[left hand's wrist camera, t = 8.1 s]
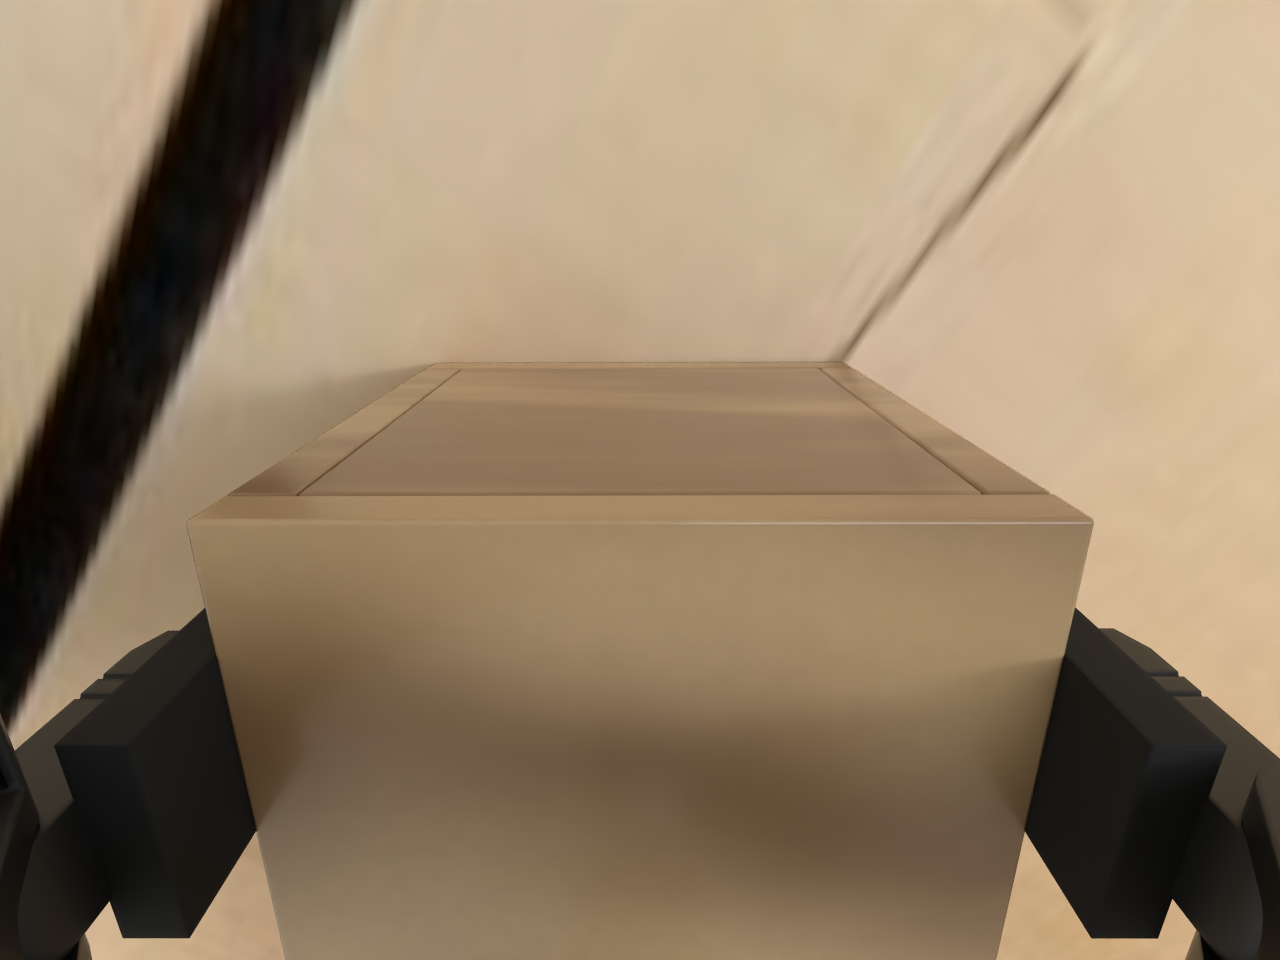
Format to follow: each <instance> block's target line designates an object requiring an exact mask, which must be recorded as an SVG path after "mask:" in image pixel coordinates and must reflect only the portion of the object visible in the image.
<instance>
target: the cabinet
mask: <svg viewBox="0 0 1280 960" xmlns="http://www.w3.org/2000/svg"><path fill="white" fill-rule="evenodd" d="M1093 524H1094V523H1093V519H1092V518H1091V517H1089V516H1088V515H1086V514H1084V513H1083V512H1081V511H1080V510H1078V509H1076V508H1075V507H1073V506H1072V505H1070V504H1069V503H1067V502H1065V501H1064V500H1062V499H1061V498H1059V497H1057V496H1055V495H1051V494H1050V492H1048V491H1047V490H1045V489H1044V488H1042V487H1040V486H1039V485H1037V484H1036V483H1034V482H1033V481H1031V480H1029V479H1028V478H1026V477H1025V476H1023V475H1021V474H1020V473H1018V472H1017V471H1015V470H1014V469H1012V468H1010V467H1009V466H1007V465H1006V464H1004V463H1002V462H1001V461H999V460H998V459H996V458H995V457H993V456H991V455H990V454H988V453H987V452H985V451H984V450H982V449H980V448H979V447H977V446H976V445H974V444H972V443H971V442H969V441H968V440H966V439H965V438H963V437H961V436H960V435H958V434H957V433H955V432H953V431H952V430H950V429H949V428H947V427H946V426H944V425H942V424H941V423H939V422H938V421H936V420H934V419H933V418H931V417H930V416H928V415H927V414H925V413H923V412H922V411H920V410H919V409H917V408H915V407H914V406H912V405H911V404H909V403H908V402H906V401H904V400H903V399H901V398H900V397H898V396H896V395H895V394H893V393H892V392H890V391H889V390H887V389H885V388H884V387H882V386H881V385H879V384H877V383H876V382H874V381H873V380H871V379H870V378H868V377H866V376H865V375H863V374H862V373H860V372H859V371H857V370H855V369H853V368H852V367H850V366H849V365H847V364H845V363H843V362H671V363H436V364H434V365H432V366H431V367H429V368H428V369H425V370H423V371H422V372H420V373H418V374H417V375H415V376H414V377H412V378H411V379H409V380H407V381H406V382H404V383H403V384H401V385H400V386H398V387H396V388H395V389H393V390H392V391H390V392H389V393H387V394H385V395H384V396H382V397H381V398H379V399H377V400H376V401H374V402H373V403H371V404H370V405H368V406H366V407H365V408H363V409H362V410H360V411H359V412H357V413H355V414H354V415H352V416H351V417H349V418H348V419H346V420H344V421H343V422H341V423H340V424H338V425H337V426H335V427H333V428H332V429H330V430H329V431H327V432H325V433H324V434H322V435H321V436H319V437H318V438H316V439H314V440H313V441H311V442H310V443H308V444H307V445H305V446H303V447H302V448H300V449H299V450H297V451H296V452H294V453H292V454H291V455H289V456H288V457H286V458H285V459H283V460H281V461H280V462H278V463H277V464H275V465H273V466H272V467H270V468H269V469H267V470H266V471H264V472H262V473H261V474H259V475H258V476H256V477H255V478H253V479H251V480H250V481H248V482H247V483H245V484H244V485H242V486H240V487H239V488H237V489H236V490H234V491H233V492H231V493H229V494H228V496H227V497H224V498H222V499H221V500H219V501H218V502H216V503H215V504H213V505H211V506H210V507H208V508H207V509H205V510H204V511H202V512H200V513H199V514H197V515H196V516H194V517H193V518H191V519H189V520H188V522H187V530H188V534H189V538H190V543H191V547H192V552H193V556H194V560H195V565H196V569H197V573H198V578H199V582H200V587H201V591H202V595H203V600H204V604H205V608H206V613H207V617H208V622H209V626H210V630H211V635H212V639H213V643H214V648H215V652H216V657H217V661H218V665H219V670H220V674H221V678H222V683H223V687H224V692H225V696H226V700H227V705H228V709H229V713H230V718H231V722H232V727H233V731H234V735H235V740H236V744H237V748H238V753H239V757H240V762H241V766H242V770H243V775H244V779H245V783H246V788H247V792H248V797H249V801H250V805H251V810H252V814H253V818H254V823H255V827H256V832H257V836H258V840H259V845H260V849H261V853H262V858H263V862H264V867H265V871H266V875H267V880H268V884H269V888H270V893H271V897H272V902H273V906H274V910H275V915H276V919H277V923H278V928H279V932H280V937H281V941H282V945H283V950H284V954H285V958H286V960H996V958H997V953H998V949H999V944H1000V940H1001V935H1002V931H1003V926H1004V922H1005V918H1006V913H1007V909H1008V904H1009V900H1010V895H1011V891H1012V886H1013V882H1014V877H1015V873H1016V868H1017V864H1018V859H1019V855H1020V851H1021V846H1022V842H1023V837H1024V833H1025V828H1026V824H1027V819H1028V815H1029V810H1030V806H1031V801H1032V797H1033V792H1034V788H1035V783H1036V779H1037V775H1038V770H1039V766H1040V761H1041V757H1042V752H1043V748H1044V743H1045V739H1046V734H1047V730H1048V725H1049V721H1050V716H1051V712H1052V708H1053V703H1054V699H1055V694H1056V690H1057V685H1058V681H1059V676H1060V672H1061V667H1062V663H1063V658H1064V654H1065V649H1066V645H1067V640H1068V636H1069V632H1070V627H1071V623H1072V618H1073V614H1074V609H1075V605H1076V600H1077V596H1078V591H1079V587H1080V582H1081V578H1082V573H1083V569H1084V564H1085V560H1086V556H1087V551H1088V547H1089V542H1090V538H1091V533H1092V529H1093Z"/></svg>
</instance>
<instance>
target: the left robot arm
mask: <svg viewBox="0 0 1280 960" xmlns="http://www.w3.org/2000/svg"><path fill="white" fill-rule="evenodd" d="M255 832H256V827H255V823H254V818H253V814H252V810H251V805H250V801H249V797H248V792H247V788H246V783H245V779H244V775H243V770H242V766H241V762H240V757H239V753H238V748H237V744H236V740H235V735H234V731H233V727H232V722H231V718H230V713H229V709H228V705H227V700H226V696H225V692H224V687H223V683H222V678H221V674H220V670H219V665H218V661H217V657H216V652H215V648H214V643H213V639H212V635H211V630H210V626H209V622H208V617H207V613H206V608H204V609H203V610H202V611H201V612H200V613H199V614H198V615H197V616H196V617H195V618H193V619H192V620H191V621H190V622H189V623H188V624H187V625H186V626H185V627H184V628H182V629H181V630H180V631H167V632H165V633H163V634H161V635H159V636H158V637H156V638H154V639H152V640H150V641H148V642H146V643H145V644H143V645H141V646H139V647H137V648H135V649H133V650H132V651H130V652H129V653H128V654H127V655H126V656H124V657H123V658H122V659H121V660H120V661H119V662H117V663H116V664H115V665H114V666H113V667H112V668H110V669H109V670H108V671H107V672H106V673H105V674H104V677H103V679H98V680H96V681H95V682H94V683H93V684H92V685H91V686H89V687H88V688H87V689H86V690H85V691H84V692H83V693H81V697H80V699H74V700H73V701H72V702H71V703H70V704H69V705H67V706H66V707H65V708H64V709H63V710H62V711H60V712H59V713H58V714H57V715H56V716H55V717H53V718H52V719H51V720H50V721H49V722H48V723H47V724H45V725H44V726H43V727H42V728H41V729H40V730H38V731H37V732H36V733H35V734H34V735H33V736H31V737H30V738H29V739H28V740H27V741H26V742H24V743H23V744H22V745H21V746H20V747H19V748H17V749H16V750H15V751H14V748H13V746H12V743H11V741H10V738H9V735H8V733H7V730H6V728H5V725H4V722H3V720H2V717H1V715H0V960H92V957H91V951H90V946H89V943H88V941H87V938H86V935H85V932H86V931H87V930H88V928H89V927H90V926H91V924H92V923H93V922H94V920H95V919H96V918H97V917H98V915H99V914H100V913H101V911H102V910H103V909H104V907H105V906H106V905H107V904H108V902H109V901H110V903H111V906H112V909H113V912H114V915H115V917H116V920H117V923H118V926H119V928H120V931H121V934H122V937H123V938H190V936H191V935H192V933H193V932H194V930H195V928H196V927H197V925H198V924H199V922H200V920H201V919H202V917H203V916H204V914H205V912H206V911H207V909H208V907H209V906H210V904H211V903H212V901H213V899H214V898H215V896H216V895H217V893H218V891H219V890H220V888H221V887H222V885H223V883H224V882H225V880H226V878H227V877H228V875H229V874H230V872H231V870H232V869H233V867H234V866H235V864H236V862H237V861H238V859H239V858H240V856H241V854H242V853H243V851H244V849H245V848H246V846H247V845H248V843H249V841H250V840H251V838H252V837H253V835H254V833H255ZM1025 832H1026V834H1027V835H1028V837H1029V839H1030V840H1031V842H1032V843H1033V845H1034V847H1035V848H1036V850H1037V851H1038V853H1039V855H1040V856H1041V858H1042V860H1043V861H1044V863H1045V864H1046V866H1047V868H1048V869H1049V871H1050V872H1051V874H1052V876H1053V877H1054V879H1055V880H1056V882H1057V884H1058V885H1059V887H1060V889H1061V890H1062V892H1063V893H1064V895H1065V897H1066V898H1067V900H1068V901H1069V903H1070V905H1071V906H1072V908H1073V909H1074V911H1075V913H1076V914H1077V916H1078V918H1079V919H1080V921H1081V922H1082V924H1083V926H1084V927H1085V929H1086V930H1087V932H1088V934H1089V935H1090V937H1091V938H1158V937H1159V934H1160V931H1161V929H1162V926H1163V923H1164V920H1165V918H1166V915H1167V912H1168V909H1169V906H1170V904H1171V901H1172V899H1173V900H1174V901H1175V902H1176V904H1177V905H1178V906H1179V908H1180V909H1181V910H1182V911H1183V913H1184V914H1185V915H1186V917H1187V918H1188V919H1189V921H1190V922H1191V923H1192V924H1193V926H1194V927H1195V928H1196V933H1195V935H1194V938H1193V941H1192V943H1191V946H1190V948H1189V951H1188V954H1187V956H1186V959H1185V960H1280V758H1278V757H1277V756H1276V755H1275V754H1274V753H1272V752H1271V751H1270V750H1269V749H1268V748H1267V747H1265V746H1264V745H1263V744H1262V743H1261V742H1260V741H1258V740H1257V739H1256V738H1255V737H1254V736H1253V735H1251V734H1250V733H1249V732H1248V731H1247V730H1246V729H1244V728H1243V727H1242V726H1241V725H1240V724H1239V723H1237V722H1236V721H1235V720H1234V719H1233V718H1232V717H1230V716H1229V715H1228V714H1227V713H1226V712H1225V711H1223V710H1222V709H1221V708H1220V707H1219V706H1217V705H1216V704H1215V703H1214V702H1213V701H1212V700H1210V699H1209V698H1208V697H1202V695H1201V691H1200V690H1199V689H1198V688H1196V687H1195V686H1194V685H1193V684H1192V683H1191V682H1189V681H1188V680H1187V679H1186V678H1185V677H1179V675H1178V671H1177V670H1175V669H1174V668H1173V667H1172V666H1171V665H1170V664H1168V663H1167V662H1166V661H1165V660H1164V659H1162V658H1161V657H1160V656H1159V655H1158V654H1157V653H1155V652H1154V651H1153V650H1152V649H1151V648H1149V647H1147V646H1145V645H1143V644H1141V643H1140V642H1138V641H1136V640H1134V639H1132V638H1130V637H1128V636H1127V635H1125V634H1123V633H1121V632H1119V631H1117V630H1115V629H1098V628H1097V627H1096V626H1095V625H1094V624H1093V623H1092V622H1091V621H1090V620H1089V619H1087V618H1086V617H1085V616H1084V615H1083V614H1082V613H1081V612H1080V611H1079V610H1078V609H1076V608H1075V609H1074V614H1073V618H1072V623H1071V627H1070V632H1069V636H1068V640H1067V645H1066V649H1065V654H1064V658H1063V663H1062V667H1061V672H1060V676H1059V681H1058V685H1057V690H1056V694H1055V699H1054V703H1053V708H1052V712H1051V716H1050V721H1049V725H1048V730H1047V734H1046V739H1045V743H1044V748H1043V752H1042V757H1041V761H1040V766H1039V770H1038V775H1037V779H1036V783H1035V788H1034V792H1033V797H1032V801H1031V806H1030V810H1029V815H1028V819H1027V824H1026V828H1025Z"/></svg>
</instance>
